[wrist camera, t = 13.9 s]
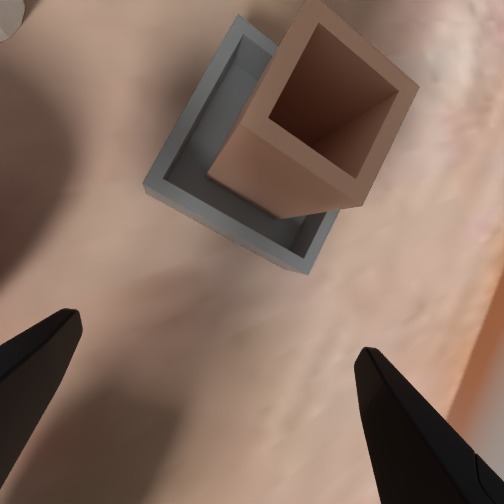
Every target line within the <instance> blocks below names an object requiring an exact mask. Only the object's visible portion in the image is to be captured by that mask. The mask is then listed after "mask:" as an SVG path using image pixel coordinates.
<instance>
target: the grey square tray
mask: <svg viewBox="0 0 504 504" xmlns="http://www.w3.org/2000/svg"><path fill="white" fill-rule="evenodd" d="M277 48H278V45H277V44H276V43H274V42H273V41H272V40H271V39H269V38H268V37H267V36H265V35H264V34H263V33H262V32H260V31H259V30H258V29H257V28H255V27H254V26H253V25H251V24H250V23H249V22H248V21H246V20H245V19H244V18H243V17H241V16H240V15H239V14H238V15H237V16H236V18H235V20H234V22H233V24H232V25H231V27H230V29H229V31H228V32H227V34H226V36H225V38H224V39H223V41H222V43H221V45H220V47H219V48H218V50H217V52H216V54H215V55H214V57H213V59H212V61H211V63H210V64H209V66H208V68H207V70H206V71H205V73H204V75H203V77H202V79H201V80H200V82H199V84H198V86H197V87H196V89H195V91H194V93H193V94H192V96H191V98H190V100H189V102H188V103H187V105H186V107H185V109H184V110H183V112H182V114H181V116H180V118H179V119H178V121H177V123H176V125H175V126H174V128H173V130H172V132H171V133H170V135H169V137H168V139H167V141H166V142H165V144H164V146H163V148H162V149H161V151H160V153H159V155H158V157H157V158H156V160H155V162H154V164H153V165H152V167H151V169H150V171H149V173H148V174H147V176H146V178H145V180H144V181H143V183H142V184H143V186H144V189H145V191H146V194H148V195H150V196H152V197H153V198H155V199H157V200H159V201H161V202H163V203H164V204H166V205H168V206H170V207H172V208H174V209H175V210H177V211H179V212H181V213H183V214H185V215H186V216H188V217H190V218H192V219H194V220H196V221H197V222H199V223H201V224H203V225H205V226H207V227H208V228H210V229H212V230H214V231H216V232H218V233H219V234H221V235H223V236H225V237H227V238H229V239H230V240H232V241H234V242H236V243H238V244H240V245H241V246H243V247H245V248H247V249H249V250H251V251H252V252H254V253H256V254H258V255H260V256H262V257H263V258H265V259H267V260H269V261H271V262H272V263H274V264H276V265H278V266H280V267H282V268H283V269H286V270H290V271H294V272H298V273H302V274H306V275H309V272H310V270H311V268H312V266H313V264H314V262H315V260H316V258H317V256H318V254H319V252H320V250H321V248H322V246H323V244H324V242H325V240H326V238H327V236H328V234H329V231H330V229H331V227H332V225H333V223H334V221H335V219H336V217H337V215H338V213H339V211H340V210H334V211H328V212H322V213H316V214H310V215H303V216H297V217H291V218H285V219H279V220H276V219H274V218H272V217H271V216H269V215H267V214H266V213H264V212H262V211H261V210H259V209H257V208H255V207H254V206H252V205H250V204H249V203H247V202H245V201H244V200H242V199H240V198H239V197H237V196H235V195H234V194H232V193H230V192H229V191H227V190H225V189H224V188H222V187H220V186H219V185H217V184H215V183H213V182H212V181H210V180H208V179H207V178H205V175H206V173H207V171H208V169H209V168H210V166H211V164H212V162H213V160H214V158H215V157H216V155H217V153H218V151H219V149H220V147H221V146H222V144H223V142H224V140H225V138H226V136H227V134H228V133H229V131H230V129H231V127H232V125H233V123H234V122H235V120H236V118H237V116H238V114H239V112H240V110H241V109H242V107H243V105H244V103H245V101H246V100H247V98H248V96H249V95H250V93H251V91H252V90H253V88H254V86H255V85H256V83H257V81H258V80H259V78H260V76H261V75H262V73H263V71H264V70H265V68H266V66H267V65H268V63H269V61H270V60H271V58H272V56H273V55H274V53H275V51H276V50H277Z"/></svg>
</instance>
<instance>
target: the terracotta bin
mask: <svg viewBox="0 0 504 504" xmlns="http://www.w3.org/2000/svg"><path fill="white" fill-rule="evenodd" d="M418 89H419V86H418V85H417V84H416V83H415V82H414V81H412V80H411V79H410V78H409V77H408V76H407V75H406V74H405V73H403V72H402V71H401V70H400V69H399V68H398V67H397V66H395V65H394V64H393V63H392V62H391V61H390V60H389V59H387V58H386V57H385V56H384V55H383V54H382V53H381V52H380V51H378V50H377V49H376V48H375V47H374V46H373V45H372V44H370V43H369V42H368V41H367V40H366V39H365V38H364V37H363V36H361V35H360V34H359V33H358V32H357V31H356V30H355V29H353V28H352V27H351V26H350V25H349V24H348V23H347V22H345V21H344V20H343V19H342V18H341V17H340V16H339V15H338V14H336V13H335V12H334V11H333V10H332V9H331V8H330V7H328V6H327V5H326V4H325V3H324V2H323V1H322V0H306V1H305V3H304V5H303V6H302V8H301V10H300V11H299V13H298V15H297V16H296V18H295V20H294V21H293V23H292V25H291V26H290V28H289V30H288V31H287V33H286V35H285V36H284V38H283V40H282V41H281V43H280V45H279V46H278V48H277V50H276V51H275V53H274V55H273V56H272V58H271V60H270V61H269V63H268V65H267V66H266V68H265V70H264V71H263V73H262V75H261V76H260V78H259V80H258V81H257V83H256V85H255V86H254V88H253V90H252V91H251V93H250V95H249V96H248V98H247V100H246V101H245V103H244V105H243V107H242V109H241V110H240V112H239V114H238V116H237V118H236V120H235V122H234V123H233V125H232V127H231V129H230V131H229V133H228V134H227V136H226V138H225V140H224V142H223V144H222V146H221V147H220V149H219V151H218V153H217V155H216V157H215V158H214V160H213V162H212V164H211V166H210V168H209V169H208V171H207V173H206V175H205V178H207V179H208V180H210V181H212V182H213V183H215V184H217V185H219V186H220V187H222V188H224V189H225V190H227V191H229V192H230V193H232V194H234V195H235V196H237V197H239V198H240V199H242V200H244V201H245V202H247V203H249V204H250V205H252V206H254V207H255V208H257V209H259V210H261V211H262V212H264V213H266V214H267V215H269V216H271V217H272V218H274V219H276V220H279V219H285V218H291V217H297V216H303V215H310V214H316V213H322V212H328V211H334V210H340V209H346V208H353V207H359V206H362V205H363V203H364V201H365V199H366V197H367V195H368V193H369V191H370V189H371V187H372V185H373V182H374V180H375V178H376V176H377V174H378V172H379V170H380V168H381V166H382V164H383V162H384V160H385V158H386V155H387V153H388V151H389V149H390V147H391V145H392V143H393V141H394V139H395V137H396V135H397V133H398V130H399V128H400V126H401V124H402V122H403V120H404V118H405V116H406V114H407V112H408V110H409V108H410V106H411V103H412V101H413V99H414V97H415V95H416V93H417V91H418Z"/></svg>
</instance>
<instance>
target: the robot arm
mask: <svg viewBox="0 0 504 504" xmlns="http://www.w3.org/2000/svg"><path fill="white" fill-rule="evenodd" d="M82 331H83V328H82V323H81V318H80V313H79V311H78V310H76V309H68V308H64V309H61V310H59V311H58V312H56V313H54V314H52V315H51V316H49V317H47V318H46V319H44V320H42V321H41V322H39V323H37V324H36V325H34V326H32V327H30V328H29V329H27V330H25V331H24V332H22V333H20V334H19V335H17V336H15V337H14V338H12V339H10V340H8V341H7V342H5V343H3V344H2V345H0V489H1V487H2V485H3V484H4V482H5V480H6V478H7V477H8V475H9V473H10V471H11V470H12V468H13V466H14V464H15V463H16V461H17V459H18V457H19V456H20V454H21V452H22V450H23V449H24V447H25V445H26V443H27V442H28V440H29V438H30V436H31V434H32V433H33V431H34V429H35V427H36V426H37V424H38V422H39V420H40V419H41V417H42V415H43V413H44V412H45V410H46V408H47V406H48V405H49V403H50V401H51V399H52V398H53V396H54V394H55V392H56V391H57V389H58V387H59V385H60V383H61V381H62V379H63V377H64V375H65V372H66V370H67V368H68V365H69V363H70V361H71V358H72V356H73V354H74V352H75V349H76V347H77V345H78V342H79V340H80V338H81V335H82ZM354 372H355V380H356V387H357V395H358V403H359V410H360V416H361V421H362V426H363V430H364V434H365V438H366V442H367V447H368V451H369V455H370V459H371V463H372V468H373V472H374V476H375V480H376V484H377V489H378V493H379V497H380V501H381V504H504V482H503V480H502V479H501V478H500V477H499V476H498V475H497V474H496V473H495V472H494V471H493V470H492V469H491V468H490V467H489V466H488V465H487V464H486V463H485V462H484V461H483V459H482V458H481V457H480V456H479V455H478V454H475V452H474V450H473V449H472V448H471V447H470V446H469V445H468V444H467V443H466V442H465V441H464V439H463V438H462V437H461V436H459V434H458V433H457V432H456V431H455V430H454V429H453V428H452V427H451V426H450V425H449V424H448V423H447V422H446V420H445V419H444V418H443V417H442V416H441V415H440V414H439V413H438V412H437V411H436V410H435V409H434V408H433V407H432V406H431V405H430V404H429V403H428V401H427V400H426V399H425V398H424V397H423V396H422V395H421V394H420V393H419V392H418V391H417V390H416V389H415V388H414V387H413V386H412V385H411V384H410V382H409V381H408V380H407V379H406V378H405V377H404V376H403V375H402V374H401V373H400V372H399V371H398V370H397V369H396V368H395V367H394V366H393V365H392V363H391V362H390V361H389V360H388V359H387V358H386V357H385V356H384V355H383V354H382V353H381V352H380V351H379V350H378V349H376V348H372V347H364V348H363V349H362V350H361V352H360V354H359V356H358V358H357V359H356V361H355V364H354Z"/></svg>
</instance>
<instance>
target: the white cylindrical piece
mask: <svg viewBox="0 0 504 504" xmlns="http://www.w3.org/2000/svg"><path fill="white" fill-rule="evenodd" d="M24 11H25V4H24V0H0V42H2V41H4V40H7V39H9V38H10V37H11V36H12V35H13V34H14V33H15V32H16V30H17V29H18V28H19V27H20V26H21V24H22V19H23V15H24Z"/></svg>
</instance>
